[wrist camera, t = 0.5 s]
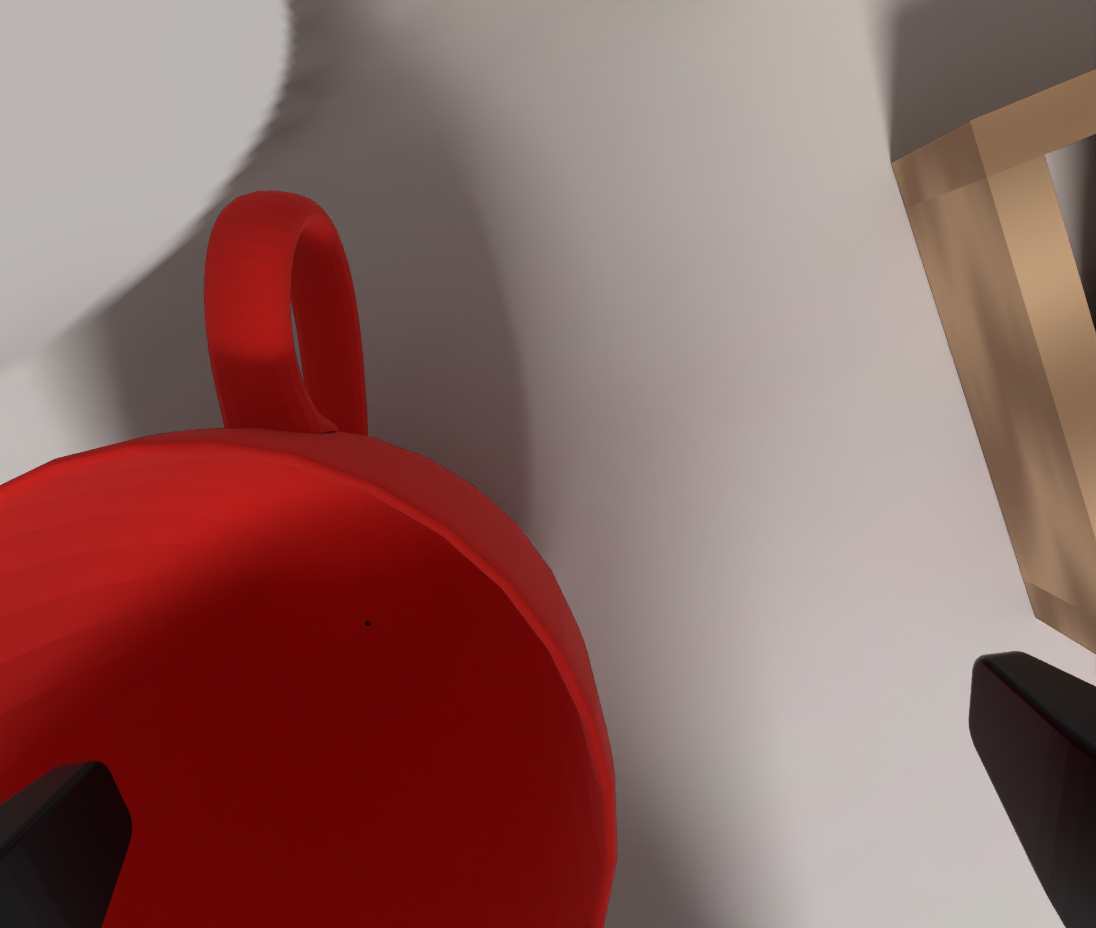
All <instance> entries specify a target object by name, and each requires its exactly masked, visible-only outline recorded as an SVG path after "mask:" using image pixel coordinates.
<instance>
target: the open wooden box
mask: <svg viewBox="0 0 1096 928" xmlns="http://www.w3.org/2000/svg"><path fill="white" fill-rule="evenodd" d="M1094 134H1096V69H1095V70H1092V71H1090V72H1087V73H1085V74H1082V75H1080V76H1077V77H1075V78H1073V79H1070V80H1068V81H1065V82H1063V83H1060V84H1058V85H1056V86H1053V87H1051V88H1048V89H1046V90H1043V91H1041V92H1038V93H1036V94H1034V95H1031V96H1029V97H1026V98H1024V99H1021V100H1019V101H1017V102H1014V103H1012V104H1009V105H1007V106H1004V107H1002V108H999V109H997V110H995V111H992V112H990V113H987V114H985V115H982V116H980V117H978V118H975V119H973V120H970V121H968V122H966V123H965V124H963V125H961V126H959V127H957V128H955V129H953V130H952V131H950V132H948V133H946V134H944V135H942V136H940V137H939V138H937V139H935V140H933V141H931V142H929V143H927V144H926V145H924V146H922V147H920V148H918V149H916V150H914V151H913V152H911V153H909V154H907V155H905V156H903V157H901V158H900V159H898V160H896V161H894V162H892V163H891V164H892V167H893V170H894V173H895V177H896V180H897V183H898V186H899V189H900V192H901V195H902V199H903V202H904V205H905V208H906V211H907V214H908V217H909V221H910V224H911V227H912V230H913V233H914V236H915V239H916V243H917V246H918V249H919V252H920V255H921V258H922V262H923V265H924V268H925V271H926V274H927V277H928V280H929V284H930V287H931V290H932V293H933V296H934V299H935V302H936V306H937V309H938V312H939V315H940V318H941V321H942V324H943V328H944V331H945V334H946V337H947V340H948V343H949V347H950V350H951V353H952V356H953V359H954V362H955V365H956V369H957V372H958V375H959V378H960V381H961V384H962V387H963V391H964V394H965V397H966V400H967V403H968V406H969V409H970V413H971V416H972V419H973V422H974V425H975V428H976V431H977V435H978V438H979V441H980V444H981V447H982V450H983V454H984V457H985V460H986V463H987V466H988V469H989V472H990V476H991V479H992V482H993V485H994V488H995V491H996V494H997V498H998V501H999V504H1000V507H1001V510H1002V513H1003V516H1004V520H1005V523H1006V526H1007V529H1008V532H1009V535H1010V539H1011V542H1012V545H1013V548H1014V551H1015V554H1016V557H1017V561H1018V564H1019V567H1020V570H1021V573H1022V576H1023V579H1024V583H1025V586H1026V589H1027V592H1028V595H1029V598H1030V601H1031V605H1032V608H1033V611H1034V614H1035V617H1036V618H1037V619H1039V620H1041V621H1042V622H1044V623H1046V624H1047V625H1049V626H1050V627H1052V628H1054V629H1055V630H1057V631H1059V632H1060V633H1062V634H1063V635H1065V636H1067V637H1068V638H1070V639H1072V640H1073V641H1075V642H1077V643H1078V644H1080V645H1081V646H1083V647H1085V648H1086V649H1088V650H1090V651H1091V652H1093V653H1094V654H1096V332H1095V329H1094V325H1093V322H1092V318H1091V315H1090V311H1089V308H1088V304H1087V301H1086V297H1085V294H1084V290H1083V287H1082V284H1081V280H1080V277H1079V273H1078V270H1077V266H1076V263H1075V259H1074V256H1073V252H1072V249H1071V245H1070V242H1069V239H1068V235H1067V232H1066V228H1065V225H1064V221H1063V218H1062V214H1061V211H1060V207H1059V204H1058V200H1057V197H1056V194H1055V190H1054V187H1053V183H1052V180H1051V176H1050V173H1049V169H1048V166H1047V162H1046V159H1045V155H1044V154H1047V153H1049V152H1052V151H1054V150H1057V149H1059V148H1062V147H1064V146H1067V145H1069V144H1072V143H1074V142H1077V141H1079V140H1082V139H1084V138H1087V137H1089V136H1092V135H1094Z"/></svg>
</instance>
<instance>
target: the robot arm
mask: <svg viewBox="0 0 1096 928" xmlns="http://www.w3.org/2000/svg"><path fill="white" fill-rule="evenodd" d="M969 730H970V734H971V738H972V741H973V744H974V746H975V749H976V751H977V753H978V755H979V757H980V759H981V761H982V763H983V765H984V767H985V769H986V771H987V773H988V776H989V778H990V780H991V782H992V784H993V786H994V788H995V790H996V792H997V794H998V796H999V798H1000V800H1001V803H1002V805H1003V807H1004V809H1005V811H1006V813H1007V815H1008V817H1009V819H1010V821H1011V823H1012V825H1013V827H1014V830H1015V832H1016V834H1017V836H1018V838H1019V840H1020V842H1021V844H1022V846H1023V848H1024V850H1025V852H1026V855H1027V857H1028V859H1029V861H1030V863H1031V865H1032V867H1033V869H1034V871H1035V873H1036V875H1037V877H1038V879H1039V881H1040V883H1041V885H1042V887H1043V889H1044V891H1045V893H1046V894H1047V896H1048V898H1049V900H1050V901H1051V903H1052V905H1053V907H1054V908H1055V910H1056V912H1057V914H1058V915H1059V917H1060V919H1061V920H1062V922H1063V924H1064V925H1065V927H1066V928H1096V686H1094V685H1092V684H1089V683H1087V682H1085V681H1083V680H1081V679H1079V678H1077V677H1075V676H1073V675H1071V674H1069V673H1066V672H1064V671H1062V670H1060V669H1058V668H1056V667H1054V666H1052V665H1050V664H1048V663H1045V662H1043V661H1041V660H1039V659H1037V658H1035V657H1033V656H1031V655H1029V654H1026V653H1024V652H1019V651H1011V652H1003V653H995V654H986V655H982V656H980V657H978V658H977V659H976V660H975V663H974V665H973V670H972V682H971V695H970V707H969ZM131 837H132V818H131V815H130V812H129V810H128V808H127V805H126V803H125V801H124V799H123V797H122V795H121V793H120V791H119V789H118V786H117V784H116V782H115V780H114V778H113V776H112V774H111V772H110V770H109V768H108V766H107V765H105V764H104V763H103V762H101V761H98V760H87V761H79V762H70V763H65V764H61V765H58V766H56V767H55V768H53V769H51V770H50V771H48V772H47V773H45V774H44V775H42V776H41V777H40V778H38V779H37V780H35V781H34V782H32V783H31V784H29V785H28V786H26V787H25V788H23V789H22V790H20V791H19V792H18V793H16V794H15V795H13V796H12V797H10V798H9V799H7V800H6V801H4V802H3V803H1V804H0V928H102V926H103V923H104V920H105V917H106V914H107V911H108V908H109V905H110V902H111V899H112V896H113V893H114V890H115V887H116V884H117V881H118V878H119V875H120V872H121V869H122V866H123V863H124V860H125V857H126V854H127V851H128V848H129V845H130V841H131Z"/></svg>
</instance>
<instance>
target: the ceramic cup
mask: <svg viewBox="0 0 1096 928" xmlns="http://www.w3.org/2000/svg"><path fill="white" fill-rule="evenodd" d="M290 298H291V303H292V307H293V312H294V317H295V323H296V328H297V334H298V341H299V347H300V355H301V362H302V370H303V378H304V382H303V379H302V376H301V373H300V369H299V365H298V361H297V357H296V352H295V347H294V340H293V333H292V323H291V306H290ZM204 304H205V321H206V332H207V341H208V348H209V355H210V361H211V367H212V372H213V377H214V382H215V387H216V391H217V396H218V400H219V404H220V409H221V413H222V418H223V423H224V427H225V428H210V429H197V430H187V431H178V432H170V433H163V434H156V435H151V436H145V437H141V438H137V439H133V440H129V441H125V442H121V443H117V444H112V445H108V446H104V447H100V448H96V449H92V450H88V451H84V452H80V453H76V454H72V455H68V456H64V457H61V458H57V459H54V460H52V461H49V462H47V463H45V464H43V465H41V466H39V467H37V468H35V469H33V470H31V471H29V472H27V473H25V474H23V475H20V476H18V477H16V478H14V479H12V480H10V481H8V482H6V483H4V484H2V485H0V804H1V803H3V802H4V801H6V800H7V799H9V798H10V797H12V796H13V795H15V794H16V793H18V792H19V791H20V790H22V789H23V788H25V787H26V786H28V785H29V784H31V783H32V782H34V781H35V780H37V779H38V778H40V777H41V776H42V775H44V774H45V773H47V772H48V771H50V770H51V769H53V768H55V767H56V766H58V765H61V764H65V763H70V762H79V761H87V760H98V761H101V762H103V763H104V764H105V765H107V766H108V768H109V770H110V772H111V774H112V776H113V778H114V780H115V782H116V784H117V786H118V789H119V791H120V793H121V795H122V797H123V799H124V801H125V803H126V805H127V808H128V810H129V812H130V815H131V818H132V837H131V841H130V845H129V848H128V851H127V854H126V857H125V860H124V863H123V866H122V869H121V872H120V875H119V878H118V881H117V884H116V887H115V890H114V893H113V896H112V899H111V902H110V905H109V908H108V911H107V914H106V917H105V920H104V923H103V926H102V928H604V924H605V919H606V913H607V908H608V903H609V898H610V893H611V887H612V882H613V877H614V872H615V867H616V862H617V824H616V795H615V773H614V765H613V758H612V753H611V747H610V742H609V738H608V733H607V728H606V724H605V720H604V716H603V712H602V708H601V704H600V700H599V696H598V692H597V688H596V684H595V680H594V676H593V672H592V668H591V664H590V660H589V657H588V653H587V649H586V646H585V643H584V639H583V637H582V634H581V632H580V629H579V627H578V625H577V623H576V621H575V618H574V616H573V614H572V612H571V610H570V608H569V606H568V604H567V602H566V600H565V597H564V595H563V593H562V591H561V589H560V587H559V585H558V583H557V581H556V579H555V576H554V575H553V573H552V571H551V569H550V568H549V566H548V565H547V564H546V562H545V561H544V560H543V558H542V557H541V556H540V554H539V553H538V552H537V550H536V549H535V548H534V546H533V545H532V544H531V542H530V541H529V540H528V538H527V537H526V536H525V534H524V533H523V532H522V530H521V529H520V528H519V526H518V525H517V524H516V523H515V522H514V521H513V520H512V519H511V518H510V517H509V516H508V515H506V514H505V513H504V512H503V511H502V510H501V509H500V508H499V507H498V506H496V505H495V504H494V503H493V502H492V501H491V500H490V499H489V498H487V497H486V496H485V495H484V494H483V493H482V492H481V491H480V490H479V489H477V488H476V487H475V486H474V485H472V484H470V483H469V482H467V481H465V480H464V479H462V478H460V477H459V476H457V475H455V474H454V473H452V472H450V471H449V470H447V469H445V468H444V467H442V466H440V465H439V464H437V463H435V462H434V461H432V460H430V459H429V458H427V457H424V456H422V455H419V454H416V453H413V452H411V451H408V450H405V449H403V448H400V447H397V446H394V445H392V444H389V443H386V442H384V441H381V440H378V439H375V438H373V437H370V436H368V424H367V406H366V390H365V377H364V365H363V354H362V344H361V334H360V326H359V317H358V311H357V304H356V298H355V292H354V287H353V282H352V277H351V273H350V269H349V265H348V261H347V258H346V255H345V252H344V248H343V245H342V243H341V240H340V238H339V235H338V233H337V230H336V228H335V226H334V224H333V223H332V221H331V219H330V217H329V216H328V215H327V213H326V212H325V211H324V210H323V209H322V208H321V207H320V206H319V205H317V204H316V203H315V202H313V201H312V200H311V199H309V198H306V197H303V196H301V195H298V194H293V193H287V192H280V191H257V192H253V193H249V194H246V195H243V196H239V197H237V198H236V199H235V200H233V201H232V202H231V203H230V204H229V205H228V206H226V207H225V208H224V209H223V210H222V212H221V213H220V215H219V216H218V218H217V220H216V222H215V225H214V227H213V229H212V232H211V236H210V240H209V244H208V249H207V256H206V263H205V278H204Z"/></svg>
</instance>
